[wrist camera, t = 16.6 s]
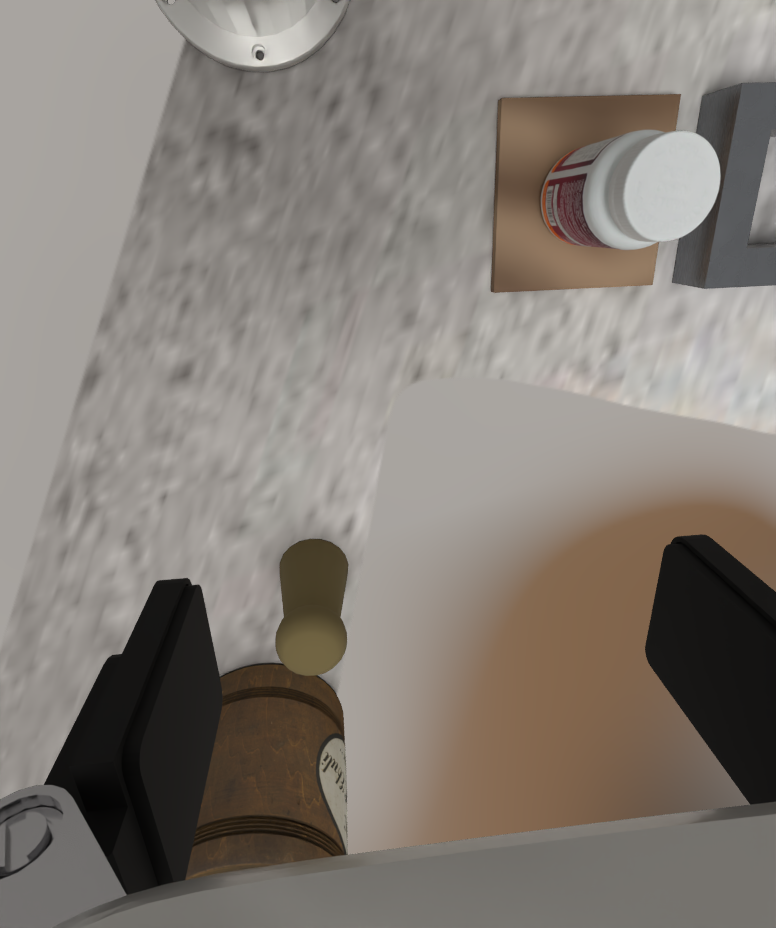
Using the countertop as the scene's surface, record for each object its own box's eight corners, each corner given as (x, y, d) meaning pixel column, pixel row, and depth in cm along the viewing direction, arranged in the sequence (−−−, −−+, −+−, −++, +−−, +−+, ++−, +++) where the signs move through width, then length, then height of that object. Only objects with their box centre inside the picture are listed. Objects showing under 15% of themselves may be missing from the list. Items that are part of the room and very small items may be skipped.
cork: (274, 543, 48) (260, 628, 38) (344, 534, 49) (349, 617, 39) (284, 600, 51) (274, 694, 41) (351, 592, 51) (357, 683, 41)
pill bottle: (591, 260, 41) (681, 274, 30) (521, 218, 39) (590, 218, 29) (642, 175, 39) (756, 160, 28) (570, 127, 37) (664, 92, 27)
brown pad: (498, 100, 37) (501, 98, 36) (673, 96, 38) (680, 94, 37) (491, 291, 42) (493, 292, 41) (646, 283, 43) (652, 284, 42)
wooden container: (321, 780, 61) (318, 1058, 41) (180, 760, 57) (102, 1052, 37) (362, 676, 55) (382, 938, 35) (209, 649, 52) (136, 919, 32)
